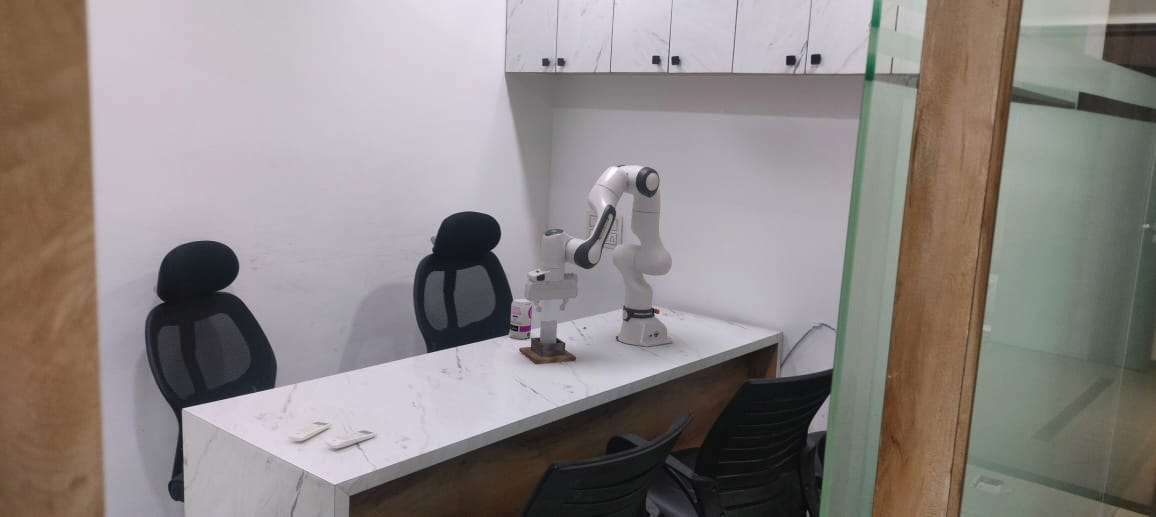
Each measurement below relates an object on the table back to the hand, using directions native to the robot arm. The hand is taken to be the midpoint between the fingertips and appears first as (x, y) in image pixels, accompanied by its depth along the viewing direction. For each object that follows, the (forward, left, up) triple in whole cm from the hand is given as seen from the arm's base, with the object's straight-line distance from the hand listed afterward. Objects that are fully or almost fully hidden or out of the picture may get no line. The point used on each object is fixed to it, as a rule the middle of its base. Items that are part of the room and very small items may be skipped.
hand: (550, 310), depth 290 cm
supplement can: (0, -27, -17) cm, 32 cm away
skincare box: (0, 0, -16) cm, 16 cm away
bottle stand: (0, 0, -17) cm, 17 cm away
